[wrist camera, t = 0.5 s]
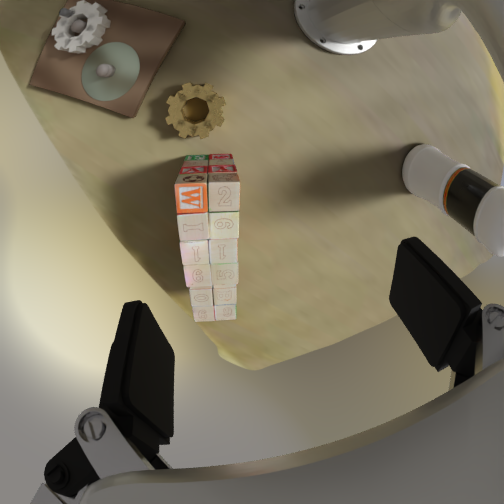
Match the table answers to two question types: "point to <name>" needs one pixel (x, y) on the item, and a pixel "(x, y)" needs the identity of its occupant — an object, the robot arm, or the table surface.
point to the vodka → (458, 194)
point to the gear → (90, 33)
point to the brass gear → (188, 125)
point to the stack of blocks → (209, 233)
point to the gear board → (110, 58)
